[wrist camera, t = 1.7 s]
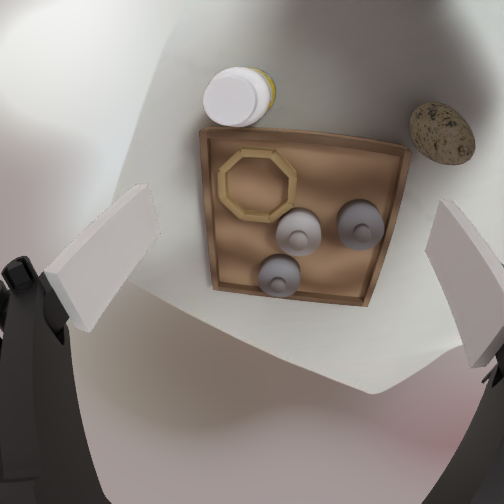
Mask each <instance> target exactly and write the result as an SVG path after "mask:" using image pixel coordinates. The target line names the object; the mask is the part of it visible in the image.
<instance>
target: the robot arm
mask: <svg viewBox="0 0 504 504" xmlns="http://www.w3.org/2000/svg"><path fill="white" fill-rule="evenodd" d="M160 234H161V233H160V229H159V225H158V221H157V216H156V212H155V207H154V203H153V198H152V194H151V189H150V184H136V185H135V186H133V187H132V188H131V189H130V190H128V191H127V192H126V193H125V194H124V195H122V196H121V197H120V198H119V199H118V200H117V201H115V202H114V203H113V204H112V205H111V206H110V207H108V208H107V209H106V210H105V211H104V212H103V213H102V214H101V215H100V216H99V217H97V218H96V219H95V220H94V221H93V222H92V223H91V224H90V225H89V226H88V227H87V228H85V229H84V230H83V231H82V232H81V233H80V234H79V235H78V236H77V237H76V238H75V239H74V240H73V241H72V242H71V243H70V244H69V245H68V246H67V247H66V248H65V249H64V250H63V251H62V252H61V253H60V254H59V255H58V256H57V257H56V258H55V259H54V260H53V261H52V262H51V263H50V265H49V266H48V267H47V268H46V269H45V270H44V271H43V272H42V273H41V275H40V276H39V277H38V275H37V273H36V272H35V270H34V268H33V266H32V264H31V262H30V259H29V258H28V257H27V256H21V257H18V258H16V259H14V260H12V261H11V262H10V263H9V264H7V266H6V267H5V268H4V269H3V271H2V273H1V274H2V276H3V278H4V280H5V281H6V283H7V285H8V287H9V288H10V290H7V288H6V286H5V285H4V283H3V281H1V280H0V329H1V330H2V331H3V333H4V334H3V339H1V337H0V504H111V502H109V500H108V499H107V498H106V497H105V495H104V493H103V491H102V488H101V486H100V483H99V480H98V477H97V474H96V471H95V468H94V465H93V461H92V458H91V455H90V451H89V447H88V444H87V440H86V436H85V432H84V428H83V424H82V419H81V415H80V410H79V404H78V399H77V393H76V387H75V381H74V374H73V366H72V358H71V349H70V336H69V329H68V326H67V325H66V321H67V320H68V319H69V318H70V319H71V321H72V322H73V324H74V326H75V327H76V328H77V329H80V330H83V331H87V332H89V333H90V332H91V331H92V330H93V328H94V326H95V325H96V323H97V322H98V320H99V319H100V317H101V316H102V314H103V313H104V311H105V310H106V308H107V307H108V305H109V304H110V302H111V300H112V299H113V298H114V296H115V295H116V293H117V292H118V291H119V289H120V288H121V286H122V285H123V283H124V282H125V281H126V279H127V278H128V276H129V275H130V274H131V272H132V271H133V270H134V268H135V267H136V265H137V264H138V263H139V261H140V260H141V259H142V257H143V256H144V255H145V253H146V252H147V251H148V249H149V248H150V247H151V245H152V244H153V243H154V241H155V240H156V239H157V238H158V236H159V235H160ZM425 252H426V254H427V256H428V258H429V260H430V262H431V264H432V266H433V269H434V271H435V273H436V275H437V277H438V280H439V282H440V284H441V287H442V289H443V291H444V294H445V296H446V299H447V301H448V304H449V306H450V309H451V311H452V314H453V317H454V319H455V322H456V325H457V328H458V330H459V333H460V336H461V339H462V342H463V345H464V348H465V352H466V355H467V358H468V362H469V365H470V368H478V367H485V366H486V365H487V364H488V363H489V362H490V361H491V359H492V358H493V357H494V356H496V359H497V362H498V363H497V364H496V365H495V366H494V368H493V369H492V370H491V371H490V372H489V373H488V374H487V375H486V376H485V378H484V379H483V380H482V383H484V382H485V381H486V380H487V379H489V381H488V384H487V385H486V389H485V391H484V394H483V396H482V399H481V401H480V404H479V406H478V408H477V411H476V413H475V415H474V417H473V419H472V422H471V424H470V426H469V428H468V430H467V432H466V434H465V436H464V438H463V440H462V441H461V443H460V445H459V447H458V449H457V450H456V452H455V454H454V456H453V458H452V459H451V461H450V462H449V464H448V466H447V467H446V469H445V471H444V472H443V474H442V475H441V477H440V478H439V480H438V482H437V483H436V484H435V486H434V487H433V489H432V490H431V492H430V493H429V494H428V496H427V497H426V498H425V500H424V501H423V502H422V504H504V265H503V264H502V263H501V262H500V261H499V260H498V258H497V257H496V255H495V254H494V252H493V251H492V249H491V248H490V247H489V245H488V244H487V242H486V241H485V240H484V238H483V237H482V236H481V234H480V233H479V232H478V230H477V229H476V228H475V227H474V225H473V224H472V223H471V222H470V220H469V219H468V218H467V217H466V215H465V214H464V213H463V212H462V211H461V209H460V208H459V207H458V206H457V205H456V204H455V202H454V201H449V200H443V199H440V201H439V205H438V209H437V212H436V216H435V220H434V223H433V227H432V230H431V234H430V237H429V240H428V243H427V246H426V250H425Z"/></svg>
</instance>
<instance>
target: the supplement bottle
mask: <svg viewBox="0 0 504 504" xmlns="http://www.w3.org/2000/svg"><path fill="white" fill-rule="evenodd" d="M275 97H276V87H275V84H274V82H273V80H272V78H271V77H270V76H269V75H268V74H267V73H265V72H264V71H262V70H259V69H256V68H246V67H233V68H228V69H225V70H223V71H221V72H219V73H218V74H216V75H215V76H214V77H213V78H212V80H211V81H210V83H209V84H208V86H207V88H206V90H205V92H204V95H203V107H204V110H205V112H206V114H207V115H208V116H209V118H211V119H212V120H213V121H214V122H216V123H218V124H221V125H225V126H231V127H244V126H248V125H251V124H253V123H255V122H256V121H258V120H259V119H260V118H261V117H262V116H263V115H264V114H265V113H266V112H267V111H268V110H269V109H270V107H271V106H272V104H273V103H274V100H275Z"/></svg>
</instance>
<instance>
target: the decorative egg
mask: <svg viewBox="0 0 504 504" xmlns="http://www.w3.org/2000/svg"><path fill="white" fill-rule="evenodd" d="M409 133H410V137H411V139H412V141H413V143H414V145H415V146H416V148H417V149H418V150H419V151H420V152H421V153H422V154H423V155H424V156H426V157H427V158H429V159H431V160H433V161H435V162H437V163H441V164H445V165H460V164H463V163H465V162H467V161H468V160H470V158H471V157H472V156H473V154H474V151H475V139H474V136H473V133H472V131H471V129H470V127H469V125H468V124H467V122H466V121H465V120H464V119H463V118H462V116H461V115H460V114H459V113H457V112H456V111H455V110H454V109H452V108H450V107H449V106H447V105H444V104H442V103H437V102H428V103H424V104H422V105H420V106H418V107H417V108H416V109H415V110H414V111H413V113H412V115H411V117H410V120H409Z"/></svg>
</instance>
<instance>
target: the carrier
mask: <svg viewBox="0 0 504 504" xmlns="http://www.w3.org/2000/svg"><path fill="white" fill-rule="evenodd" d="M199 137H200V153H201V168H202V182H203V195H204V207H205V218H206V229H207V239H208V249H209V259H210V268H211V277H212V285H213V290H219V291H226V292H233V293H241V294H249V295H257V296H265V297H273V298H282V299H290V300H300V301H309V302H319V303H329V304H340V305H351V306H363V307H368V304H369V302H370V299H371V296H372V294H373V291H374V288H375V286H376V283H377V280H378V277H379V274H380V271H381V268H382V265H383V262H384V259H385V256H386V253H387V250H388V247H389V243H390V240H391V237H392V233H393V230H394V226H395V223H396V219H397V215H398V211H399V208H400V204H401V200H402V196H403V191H404V187H405V183H406V178H407V174H408V169H409V164H410V159H411V154H412V152H411V151H410V150H409V149H408V148H407V147H405V146H403V145H399V144H394V143H389V142H383V141H378V140H372V139H366V138H360V137H353V136H346V135H339V134H331V133H323V132H314V131H303V130H292V129H278V128H259V127H206V128H204V129H202V130H201V131H199Z"/></svg>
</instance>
